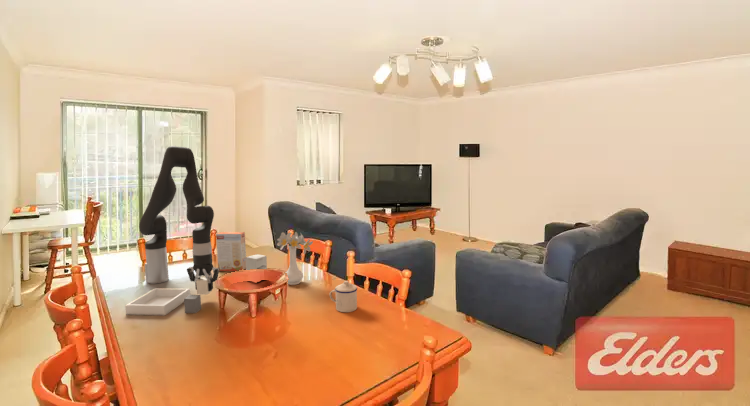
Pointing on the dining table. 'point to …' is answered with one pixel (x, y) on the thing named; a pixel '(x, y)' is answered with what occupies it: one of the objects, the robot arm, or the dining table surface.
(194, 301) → the charcoal block
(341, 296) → the teacup with lid
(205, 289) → the cream block
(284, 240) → the flower vase
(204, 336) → the dining table surface
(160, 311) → the tray
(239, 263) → the cracker box
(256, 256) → the supplement box
